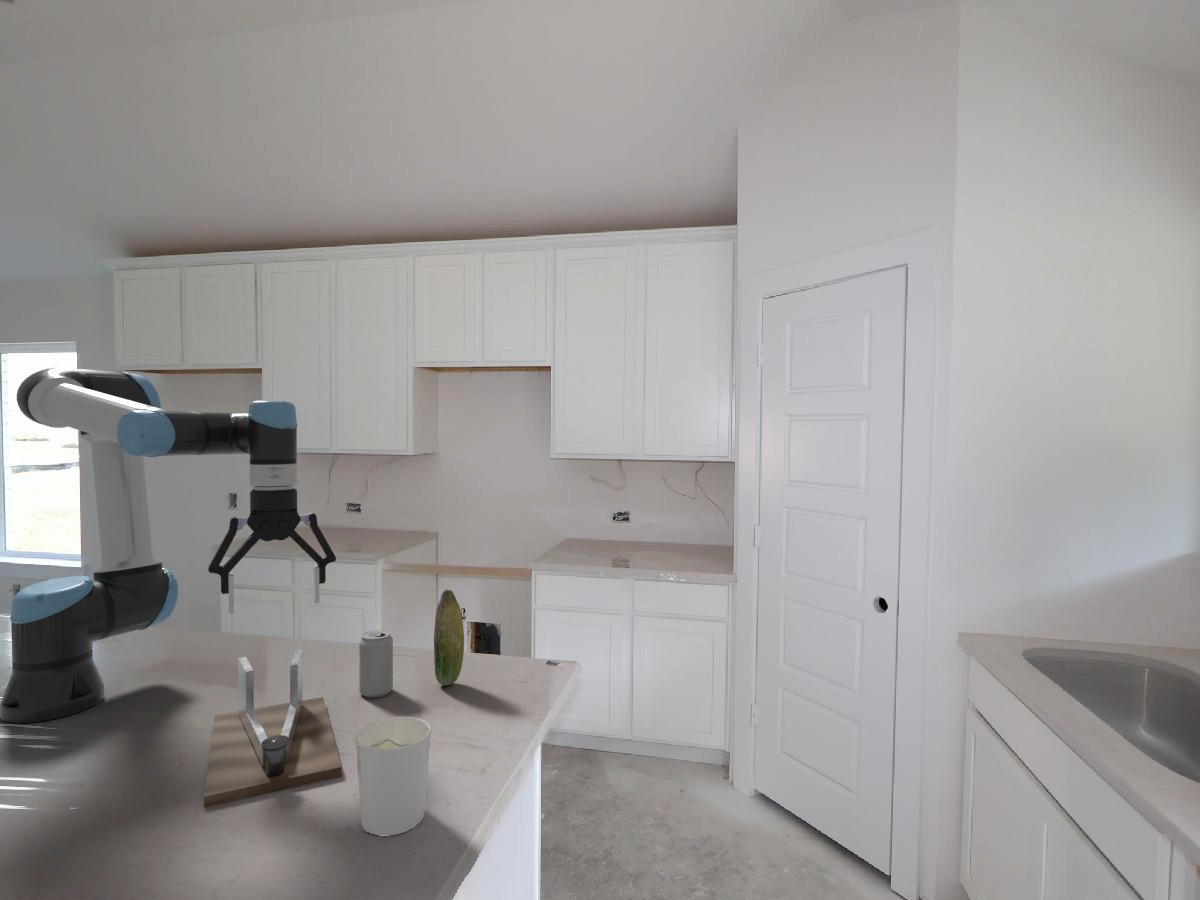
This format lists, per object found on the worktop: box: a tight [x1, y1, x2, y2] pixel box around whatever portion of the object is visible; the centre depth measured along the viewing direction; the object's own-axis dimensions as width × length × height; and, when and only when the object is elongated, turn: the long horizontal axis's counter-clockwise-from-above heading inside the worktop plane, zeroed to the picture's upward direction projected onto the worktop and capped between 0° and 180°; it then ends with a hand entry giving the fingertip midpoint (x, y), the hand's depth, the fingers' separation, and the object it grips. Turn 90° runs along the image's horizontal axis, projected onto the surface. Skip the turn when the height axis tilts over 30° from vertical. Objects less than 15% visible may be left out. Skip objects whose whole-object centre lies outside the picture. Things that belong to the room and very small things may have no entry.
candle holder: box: [355, 716, 432, 836], centre depth 89 cm, size 10×10×12 cm
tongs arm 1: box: [237, 656, 268, 767], centre depth 108 cm, size 23×1×10 cm, turn 37°
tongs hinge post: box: [262, 735, 289, 777], centre depth 97 cm, size 4×4×5 cm
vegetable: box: [433, 588, 465, 686], centre depth 135 cm, size 6×6×20 cm
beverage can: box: [358, 629, 394, 699], centre depth 131 cm, size 6×6×12 cm
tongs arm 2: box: [281, 649, 303, 762], centre depth 110 cm, size 23×1×10 cm, turn 19°
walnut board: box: [203, 696, 342, 808], centre depth 108 cm, size 29×18×2 cm, turn 28°
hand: (275, 606), depth 116 cm, fingers open, 13 cm apart
